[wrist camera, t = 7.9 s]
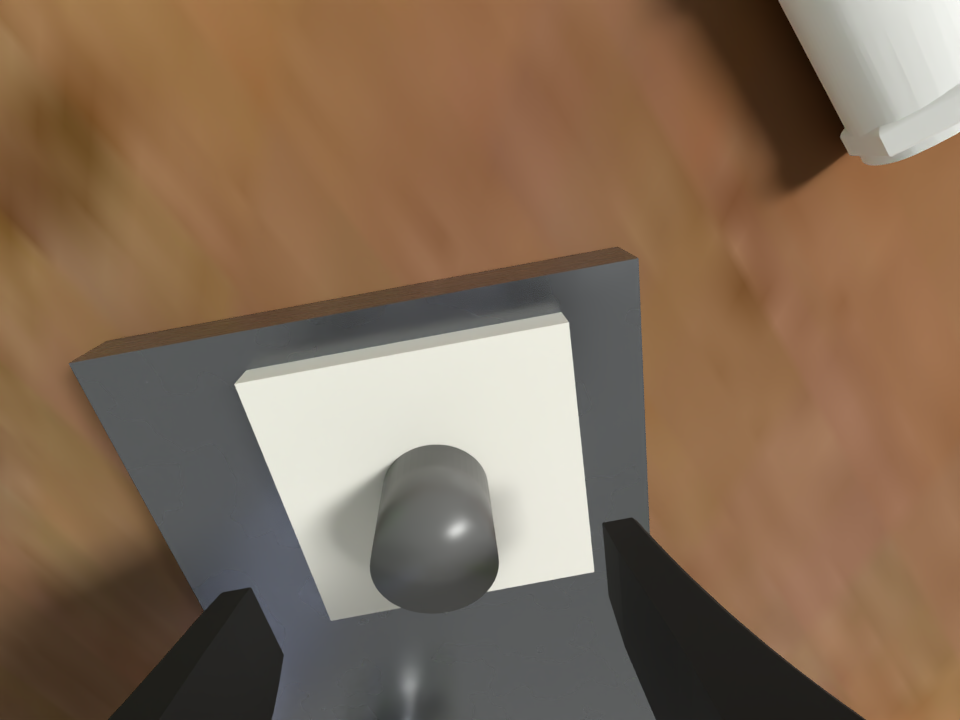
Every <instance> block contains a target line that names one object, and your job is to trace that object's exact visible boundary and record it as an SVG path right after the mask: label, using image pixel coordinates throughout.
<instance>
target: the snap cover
mask: <svg viewBox="0 0 960 720" xmlns="http://www.w3.org/2000/svg"><path fill="white" fill-rule="evenodd" d="M234 385H235V387H236V390H237V392H238V395H239V397H240V399H241V402H242V404H243V407H244V409H245V412H246V414H247V417H248V419H249V422H250V424H251V426H252V429H253V431H254V434H255V436H256V439H257V441H258V444H259V446H260V448H261V451H262V453H263V456H264V458H265V461H266V463H267V466H268V468H269V471H270V473H271V475H272V478H273V480H274V483H275V485H276V488H277V490H278V493H279V495H280V497H281V500H282V502H283V505H284V507H285V510H286V512H287V515H288V517H289V519H290V522H291V524H292V527H293V529H294V532H295V534H296V537H297V539H298V542H299V544H300V546H301V549H302V551H303V554H304V556H305V559H306V561H307V564H308V566H309V568H310V571H311V573H312V576H313V578H314V581H315V583H316V586H317V588H318V591H319V593H320V595H321V598H322V600H323V603H324V605H325V608H326V610H327V613H328V615H329V617H330V620H331V621H333V620H339V619H344V618H349V617H355V616H360V615H366V614H371V613H376V612H382V611H387V610H392V609H398V608H403V609H406V610H409V611H413V612H418V613H426V614H438V613H446V612H451V611H455V610H458V609H461V608H464V607H466V606H468V605H470V604H472V603H473V602H475V601H477V600H478V599H479V598H481V597H482V596H483V595H484V594H485V593H486V592H489V591H495V590H500V589H505V588H511V587H516V586H522V585H527V584H532V583H538V582H543V581H549V580H554V579H559V578H565V577H570V576H575V575H581V574H586V573H592V572H594V563H593V553H592V544H591V534H590V524H589V514H588V504H587V495H586V485H585V475H584V465H583V455H582V446H581V436H580V426H579V416H578V407H577V397H576V387H575V377H574V367H573V358H572V348H571V338H570V328H569V322H568V320H567V319H566V318H565V316H564V315H563V314H562V312H559V313H554V314H548V315H543V316H537V317H532V318H526V319H521V320H516V321H510V322H505V323H499V324H494V325H489V326H483V327H478V328H472V329H467V330H461V331H456V332H451V333H445V334H440V335H434V336H429V337H423V338H418V339H413V340H407V341H402V342H396V343H391V344H386V345H380V346H375V347H369V348H364V349H358V350H353V351H348V352H342V353H337V354H331V355H326V356H321V357H315V358H310V359H304V360H299V361H293V362H288V363H283V364H277V365H272V366H266V367H261V368H256V369H250V370H246V371H245V372H244V373H243V375H242V376H241V377H240V378H239V379H238V380H237V382H236V383H235V384H234Z"/></svg>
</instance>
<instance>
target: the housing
mask: <svg viewBox="0 0 960 720" xmlns="http://www.w3.org/2000/svg"><path fill="white" fill-rule="evenodd" d="M559 312H562V314H563V315H564V316H565V318H566V319H567V320H568V322H569V328H570V338H571V348H572V358H573V367H574V377H575V387H576V397H577V407H578V416H579V426H580V436H581V446H582V455H583V465H584V475H585V485H586V495H587V504H588V514H589V524H590V534H591V544H592V553H593V563H594V572H592V573H586V574H581V575H575V576H570V577H565V578H559V579H554V580H549V581H543V582H538V583H532V584H527V585H522V586H516V587H511V588H505V589H500V590H495V591H489V592H486V593H485V594H484V595H483V596H482V597H481V598H479V599H478V600H477V601H475V602H473V603H472V604H470V605H468V606H466V607H464V608H461V609H458V610H455V611H451V612H446V613H438V614H426V613H418V612H413V611H409V610H406V609H403V608H398V609H392V610H387V611H382V612H376V613H371V614H366V615H360V616H355V617H349V618H344V619H339V620H333V621H331V620H330V617H329V615H328V613H327V610H326V608H325V605H324V603H323V600H322V598H321V595H320V593H319V591H318V588H317V586H316V583H315V581H314V578H313V576H312V573H311V571H310V568H309V566H308V564H307V561H306V559H305V556H304V554H303V551H302V549H301V546H300V544H299V542H298V539H297V537H296V534H295V532H294V529H293V527H292V524H291V522H290V519H289V517H288V515H287V512H286V510H285V507H284V505H283V502H282V500H281V497H280V495H279V493H278V490H277V488H276V485H275V483H274V480H273V478H272V475H271V473H270V471H269V468H268V466H267V463H266V461H265V458H264V456H263V453H262V451H261V448H260V446H259V444H258V441H257V439H256V436H255V434H254V431H253V429H252V426H251V424H250V422H249V419H248V417H247V414H246V412H245V409H244V407H243V404H242V402H241V399H240V397H239V395H238V392H237V390H236V387H235V385H234V384H235V383H236V382H237V380H238V379H239V378H240V377H241V376H242V375H243V373H244V372H245V371H246V370H250V369H256V368H261V367H266V366H272V365H277V364H283V363H288V362H293V361H299V360H304V359H310V358H315V357H321V356H326V355H331V354H337V353H342V352H348V351H353V350H358V349H364V348H369V347H375V346H380V345H386V344H391V343H396V342H402V341H407V340H413V339H418V338H423V337H429V336H434V335H440V334H445V333H451V332H456V331H461V330H467V329H472V328H478V327H483V326H489V325H494V324H499V323H505V322H510V321H516V320H521V319H526V318H532V317H537V316H543V315H548V314H554V313H559ZM69 365H70V367H71V368H72V370H73V372H74V374H75V376H76V378H77V379H78V381H79V383H80V385H81V387H82V389H83V390H84V392H85V394H86V396H87V398H88V400H89V401H90V403H91V405H92V407H93V409H94V411H95V412H96V414H97V416H98V418H99V420H100V422H101V423H102V425H103V427H104V429H105V431H106V432H107V434H108V436H109V438H110V440H111V442H112V443H113V445H114V447H115V449H116V451H117V453H118V454H119V456H120V458H121V460H122V462H123V464H124V465H125V467H126V469H127V471H128V473H129V475H130V476H131V478H132V480H133V482H134V484H135V486H136V487H137V489H138V491H139V493H140V495H141V497H142V498H143V500H144V502H145V504H146V506H147V507H148V509H149V511H150V513H151V515H152V517H153V518H154V520H155V522H156V524H157V526H158V528H159V529H160V531H161V533H162V535H163V537H164V539H165V540H166V542H167V544H168V546H169V548H170V550H171V551H172V553H173V555H174V557H175V559H176V561H177V562H178V564H179V566H180V568H181V570H182V572H183V573H184V575H185V577H186V579H187V581H188V582H189V584H190V586H191V588H192V590H193V592H194V593H195V595H196V597H197V599H198V601H199V603H200V604H201V606H202V608H203V610H204V611H205V610H206V609H207V608H208V607H209V605H210V604H211V603H212V602H213V601H214V600H215V599H216V598H217V597H218V596H219V595H220V594H221V593H222V592H227V591H232V590H237V589H243V588H248V587H251V588H252V590H253V592H254V594H255V596H256V598H257V600H258V602H259V604H260V606H261V609H262V611H263V613H264V615H265V617H266V619H267V621H268V623H269V625H270V627H271V629H272V631H273V633H274V635H275V637H276V639H277V642H278V644H279V646H280V648H281V650H282V652H283V654H284V657H283V664H282V670H281V676H280V682H279V687H278V693H277V698H276V703H275V708H274V713H273V716H272V720H656V719H655V717H654V714H653V712H652V710H651V707H650V705H649V703H648V700H647V698H646V696H645V693H644V691H643V689H642V686H641V684H640V682H639V679H638V677H637V675H636V672H635V670H634V668H633V665H632V663H631V661H630V658H629V656H628V653H627V651H626V649H625V646H624V643H623V640H622V637H621V634H620V630H619V627H618V624H617V621H616V618H615V615H614V611H613V608H612V605H611V602H610V599H609V595H608V584H607V573H606V561H605V550H604V538H603V527H602V523H604V522H609V521H615V520H620V519H626V518H631V517H632V518H634V519H635V520H637V521H638V522H639V523H640V524H641V526H642V527H643V528H644V529H645V530H646V531H647V532H648V533H649V534H650V531H649V507H648V482H647V458H646V433H645V409H644V385H643V360H642V336H641V311H640V287H639V263H638V258H637V257H635V256H633V255H632V254H630V253H628V252H626V251H625V250H623V249H621V248H619V247H614V248H609V249H604V250H598V251H593V252H587V253H582V254H577V255H571V256H566V257H560V258H555V259H549V260H544V261H539V262H533V263H528V264H522V265H517V266H511V267H506V268H501V269H495V270H490V271H484V272H479V273H473V274H468V275H463V276H457V277H452V278H446V279H441V280H435V281H430V282H425V283H419V284H414V285H408V286H403V287H397V288H392V289H387V290H381V291H376V292H370V293H365V294H360V295H354V296H349V297H343V298H338V299H332V300H327V301H322V302H316V303H311V304H305V305H300V306H294V307H289V308H284V309H278V310H273V311H267V312H262V313H256V314H251V315H246V316H240V317H235V318H229V319H224V320H218V321H213V322H208V323H202V324H197V325H191V326H186V327H180V328H175V329H170V330H164V331H159V332H153V333H148V334H143V335H137V336H132V337H126V338H121V339H115V340H110V341H106V342H104V343H102V344H101V345H99V346H97V347H96V348H94V349H92V350H90V351H89V352H87V353H85V354H84V355H82V356H80V357H79V358H77V359H75V360H73V361H72V362H70V363H69Z"/></svg>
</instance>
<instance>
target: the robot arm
mask: <svg viewBox="0 0 960 720" xmlns="http://www.w3.org/2000/svg"><path fill="white" fill-rule="evenodd" d="M602 527H603V538H604V550H605V561H606V573H607V584H608V595H609V599H610V602H611V605H612V608H613V611H614V615H615V618H616V621H617V624H618V627H619V630H620V634H621V637H622V640H623V643H624V646H625V649H626V651H627V653H628V656H629V658H630V661H631V663H632V665H633V668H634V670H635V672H636V675H637V677H638V679H639V682H640V684H641V686H642V689H643V691H644V693H645V696H646V698H647V700H648V703H649V705H650V707H651V710H652V712H653V714H654V717H655V719H656V720H866V719H864V718H863V717H861V716H860V715H859V714H857V713H856V712H854V711H853V710H852V709H850V708H849V707H847V706H846V705H845V704H843V703H842V702H840V701H839V700H838V699H836V698H835V697H834V696H832V695H831V694H829V693H828V692H827V691H825V690H824V689H823V688H821V687H820V686H819V685H817V684H816V683H815V682H813V681H812V680H811V679H809V678H808V677H807V676H806V675H804V674H803V673H802V672H800V671H799V670H798V669H796V668H795V667H794V666H793V665H791V664H790V663H789V662H787V661H786V660H785V659H784V658H782V657H781V656H780V655H779V654H777V653H776V652H775V651H774V650H773V649H771V648H770V647H769V646H768V645H766V644H765V643H764V642H763V641H762V640H760V639H759V638H758V637H757V636H756V635H755V634H753V633H752V632H751V631H750V630H749V629H748V628H746V627H745V626H744V625H743V624H742V623H740V622H739V621H738V620H737V619H736V618H735V617H734V616H733V615H731V614H730V613H729V612H728V611H727V610H726V609H725V608H724V607H722V606H721V605H720V604H719V603H718V602H717V601H716V600H715V599H714V598H713V597H712V596H711V595H710V594H708V593H707V592H706V591H705V590H704V589H703V588H702V587H701V586H700V585H699V584H698V583H697V582H696V581H695V580H693V579H692V578H691V577H690V576H689V575H688V574H687V573H686V572H685V571H684V570H683V569H682V568H681V567H680V566H679V565H678V564H677V563H676V562H675V561H674V560H673V559H672V558H671V557H670V556H669V555H668V554H667V553H666V552H665V550H664V549H663V548H662V547H661V546H660V545H659V544H658V543H657V542H656V541H655V540H654V539H653V538H652V537H651V536H650V534H649V533H648V532H647V531H646V530H645V529H644V528H643V527H642V526H641V524H640V523H639V522H638V521H637V520H635V519H634V518H632V517H631V518H626V519H620V520H615V521H609V522H604V523H602ZM283 657H284V654H283V652H282V650H281V648H280V646H279V644H278V642H277V639H276V637H275V635H274V633H273V631H272V629H271V627H270V625H269V623H268V621H267V619H266V617H265V615H264V613H263V611H262V609H261V606H260V604H259V602H258V600H257V598H256V596H255V594H254V592H253V590H252V588H251V587H248V588H243V589H237V590H232V591H227V592H222V593H221V594H220V595H219V596H218V597H217V598H216V599H215V600H214V601H213V602H212V603H211V604H210V605H209V607H208V608H207V609H206V610H205V611H204V612H203V613H202V614H201V616H200V617H199V618H198V619H197V620H196V621H195V622H194V623H193V625H192V626H191V627H190V628H189V629H188V630H187V631H186V633H185V634H184V635H183V636H182V637H181V638H180V640H179V641H178V642H177V643H176V644H175V645H174V646H173V648H172V649H171V650H170V651H169V652H168V653H167V654H166V656H165V657H164V658H163V659H162V660H161V661H160V662H159V664H158V665H157V666H156V667H155V668H154V669H153V670H152V671H151V673H150V674H149V675H148V676H147V677H146V678H145V679H144V680H143V682H142V683H141V684H140V685H139V686H138V687H137V688H136V689H135V691H134V692H133V693H132V694H131V695H130V696H129V697H128V699H127V700H126V701H125V702H124V703H123V704H122V705H121V706H120V707H119V708H118V709H117V710H116V712H115V713H114V714H113V715H112V716H111V717H110V718H109V719H108V720H272V716H273V713H274V708H275V703H276V698H277V693H278V687H279V682H280V676H281V670H282V664H283Z"/></svg>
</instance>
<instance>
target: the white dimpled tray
mask: <svg viewBox="0 0 960 720" xmlns="http://www.w3.org/2000/svg"><path fill="white" fill-rule="evenodd" d="M778 1H779V3H780V5H781V7H782V9H783V11H784V13H785V14H786V16H787V18H788V20H789V22H790V24H791V26H792V28H793V30H794V32H795V34H796V36H797V37H798V39H799V41H800V43H801V45H802V47H803V49H804V51H805V53H806V55H807V57H808V59H809V61H810V62H811V64H812V66H813V68H814V70H815V72H816V74H817V76H818V78H819V80H820V82H821V83H822V85H823V87H824V89H825V91H826V93H827V95H828V97H829V99H830V101H831V103H832V104H833V106H834V108H835V110H836V112H837V114H838V116H839V118H840V120H841V122H842V124H843V125H844V127H845V128H844V130H843V131H842V133H841V135H840V138H841V140H842V142H843V144H844V146H845V148H846V149H847V151H848V153H849V155H851V156H860V158H861V160H862V162H863V163H865V164H867V165H884V164H889V163H893V162H897V161H900V160H903V159H906V158H908V157H911V156H913V155H915V154H918V153H920V152H922V151H924V150H926V149H928V148H930V147H932V146H934V145H936V144H938V143H940V142H942V141H944V140H946V139H948V138H950V137H951V136H953V135H955V134H957V133H959V132H960V0H778Z"/></svg>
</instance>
